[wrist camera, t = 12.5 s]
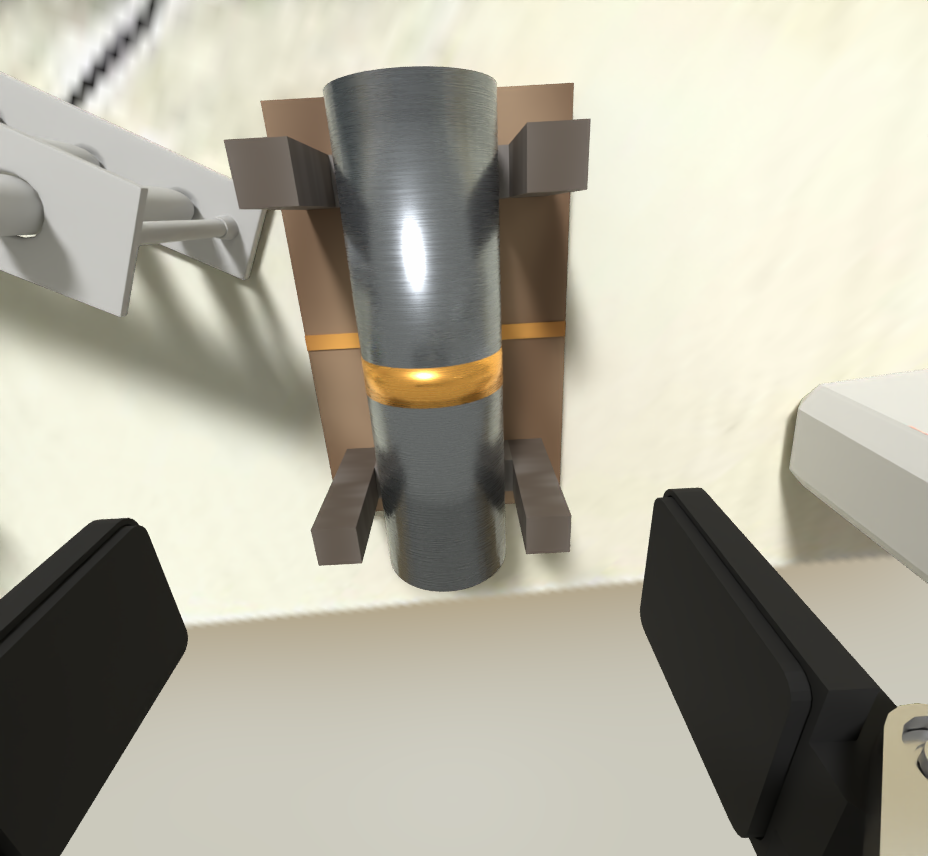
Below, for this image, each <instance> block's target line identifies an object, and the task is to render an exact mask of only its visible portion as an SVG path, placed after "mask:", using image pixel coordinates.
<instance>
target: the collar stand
mask: <svg viewBox="0 0 928 856" xmlns="http://www.w3.org/2000/svg"><path fill="white" fill-rule="evenodd" d="M573 90H574V83H562V84H545V85H527V86H510V87H497V126H498V176H499V227H500V277H501V328H502V355H503V429H504V479H505V504H512V503H516V508H517V513H518V518H519V522H520V527H521V532H522V536H523V541H524V546H525V550H526V554H538V553H556V552H570V533H571V513H570V511H569V508H568V506H567V503H566V501H565V498H564V495H563V493H562V490H561V488H560V460H561V432H562V403H563V375H564V346H565V330H566V321H565V318H566V289H567V261H568V232H569V204H570V192H574V191H580V190H587V181H588V161H589V140H590V119H577V120H572V118H573ZM261 106H262V111H263V117H264V122H265V127H266V132H267V137H264V138H247V139H230V140H224V143H225V148H226V152H227V157H228V161H229V166H230V170H231V174H232V179H233V183H234V188H235V192H236V197H237V201H238V206H239V209H261V210H281V211H282V216H283V222H284V227H285V232H286V237H287V243H288V248H289V253H290V258H291V264H292V269H293V274H294V279H295V285H296V290H297V295H298V300H299V306H300V311H301V316H302V321H303V327H304V332H305V340H306V346H307V351H308V353H309V358H310V363H311V369H312V374H313V379H314V384H315V390H316V395H317V400H318V405H319V411H320V416H321V421H322V426H323V432H324V437H325V442H326V447H327V453H328V458H329V463H330V468H331V474H332V479H333V482H332V484H331V486H330V488H329V490H328V493H327V495H326V497H325V499H324V502H323V504H322V506H321V508H320V511H319V513H318V515H317V517H316V520H315V522H314V524H313V526H312V529H311V533H312V537H313V542H314V546H315V551H316V555H317V560H318V564H319V566H321V565H339V564H357V563H362V561H363V557H364V554H365V550H366V546H367V542H368V538H369V534H370V530H371V526H372V523H373V519H374V515H375V511H384V510H383V503H382V496H381V489H380V482H379V475H378V468H377V461H376V455H375V448H374V441H373V434H372V427H371V420H370V413H369V406H368V399H367V393H366V389H365V382H364V375H363V368H362V361H361V351H360V344H359V337H358V330H357V323H356V316H355V309H354V302H353V295H352V288H351V281H350V274H349V267H348V260H347V253H346V247H345V240H344V233H343V226H342V219H341V212H340V205H339V198H338V191H337V184H336V177H335V170H334V163H333V156H332V149H331V143H330V136H329V129H328V122H327V115H326V108H325V101H324V97H319V98H302V99H285V100H267V101H261Z"/></svg>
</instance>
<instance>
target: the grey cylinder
mask: <svg viewBox="0 0 928 856" xmlns="http://www.w3.org/2000/svg"><path fill="white" fill-rule="evenodd" d="M323 94H324V101H325V108H326V115H327V122H328V129H329V136H330V143H331V149H332V156H333V163H334V170H335V177H336V184H337V191H338V198H339V205H340V212H341V219H342V226H343V233H344V240H345V247H346V253H347V260H348V267H349V274H350V281H351V288H352V295H353V302H354V309H355V316H356V323H357V330H358V337H359V344H360V351H361V361H362V368H363V375H364V382H365V389H366V393H367V399H368V406H369V413H370V420H371V427H372V434H373V441H374V448H375V455H376V461H377V468H378V475H379V482H380V489H381V496H382V503H383V510H384V517H385V524H386V531H387V538H388V545H389V552H390V559H391V564H392V567H393V569H394V571H395V572H396V574H397V575H398V576H399V577H400V578H401V579H402V580H404V581H405V582H407V583H408V584H410V585H413V586H415V587H417V588H421V589H424V590H429V591H439V592H446V591H457V590H462V589H466V588H469V587H472V586H475V585H477V584H480V583H481V582H483V581H485V580H487V579H488V578H490V577H491V576H492V575H493V574H494V573H496V572H497V570H498V569H499V568H500V567H501V565H502V563H503V561H504V559H505V555H506V530H505V479H504V429H503V355H502V328H501V277H500V227H499V176H498V126H497V83H496V81H495V80H494V79H493V78H492V77H490V76H488V75H486V74H483V73H480V72H476V71H472V70H466V69H459V68H449V67H430V66H423V67H397V68H386V69H377V70H371V71H364V72H360V73H355V74H351V75H347V76H344V77H341V78H338V79H336V80H333V81H331V82H330V83H328V84H327V85H326V86H325V87H324V89H323Z"/></svg>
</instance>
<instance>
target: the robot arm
mask: <svg viewBox="0 0 928 856" xmlns="http://www.w3.org/2000/svg"><path fill="white" fill-rule="evenodd" d="M640 617H641V622H642V625H643V629H644V631H645V634H646V636H647V638H648V640H649V642H650V644H651V646H652V649H653V651H654V654H655V656H656V658H657V660H658V662H659V664H660V667H661V669H662V671H663V673H664V676H665V678H666V680H667V682H668V685H669V687H670V689H671V691H672V694H673V696H674V698H675V700H676V703H677V705H678V706H679V709H680V711H681V714H682V716H683V718H684V720H685V722H686V725H687V727H688V729H689V731H690V733H691V736H692V738H693V740H694V742H695V744H696V747H697V749H698V751H699V754H700V756H701V758H702V760H703V763H704V765H705V767H706V769H707V771H708V774H709V776H710V778H711V780H712V783H713V785H714V787H715V789H716V791H717V793H718V796H719V798H720V800H721V803H722V805H723V807H724V809H725V811H726V813H727V816H728V818H729V820H730V822H731V824H732V826H733V828H734V830H735V831H736V832H737V834H738V835H739V836H740V837H742V838H749V839H750V841H751V843H752V846H753V848H754V850H755V852H756V854H757V856H928V705H927V704H920V703H914V704H907V705H900V706H899V707H897V706H896V705H895V704H894V703H893V702H892V701H891V700H890V698H889V697H888V696H887V695H886V694H885V693H884V692H883V691H882V689H881V688H880V687H879V686H878V685H877V684H876V683H875V682H874V680H873V679H872V678H871V677H870V676H869V675H868V674H867V672H866V671H865V670H864V669H863V668H862V667H861V666H860V665H859V663H858V662H857V661H856V660H855V659H854V658H853V657H852V656H851V654H849V652H848V651H847V650H846V649H845V648H844V647H843V646H842V644H841V643H840V642H839V641H838V640H837V639H836V638H835V636H834V635H833V634H832V633H831V632H830V631H829V630H828V629H827V627H826V626H825V625H824V624H823V623H822V622H821V621H820V620H819V619H818V617H817V616H816V615H815V614H814V613H813V612H812V611H811V610H810V608H809V607H808V606H807V605H806V604H805V603H804V602H803V601H802V599H801V598H800V597H799V596H798V595H797V594H796V593H795V592H794V590H793V589H792V588H791V587H790V586H789V585H788V584H787V583H786V581H785V580H784V579H783V578H782V577H781V576H780V575H779V574H778V572H777V571H776V570H775V569H774V568H773V567H772V566H771V565H770V564H769V562H768V561H767V560H766V559H765V558H764V557H763V556H762V555H761V553H760V552H759V551H758V550H757V549H756V548H755V547H754V546H753V544H752V543H751V542H750V541H749V540H748V539H747V538H746V537H745V535H744V534H743V533H742V532H741V531H740V530H739V529H738V528H737V526H736V525H735V524H734V523H733V522H732V521H731V520H730V519H729V517H728V516H727V515H726V514H725V513H724V512H723V511H722V510H721V508H720V507H719V506H718V505H717V504H716V503H715V502H714V501H713V499H712V498H711V497H710V496H709V495H708V494H707V493H706V492H705V491H704V490H703V489H702V488H682V489H668V490H667V491H666V492H665V493H664V496H663V498H657V499H656V500H655V502H654V507H653V515H652V523H651V530H650V538H649V545H648V553H647V560H646V568H645V575H644V583H643V590H642V598H641V606H640ZM187 641H188V635H187V630H186V628H185V625H184V623H183V620H182V618H181V615H180V613H179V610H178V608H177V605H176V602H175V600H174V597H173V595H172V592H171V590H170V587H169V585H168V582H167V580H166V577H165V575H164V572H163V570H162V567H161V565H160V562H159V560H158V557H157V555H156V552H155V549H154V547H153V544H152V542H151V539H150V537H149V534H148V532H147V530H146V529H145V528H144V527H143V526H139V525H138V523H137V522H136V521H135V520H133V519H130V518H120V519H101V520H95V521H93V522H91V523H89V524H88V525H87V526H85V527H84V528H83V529H82V530H81V531H80V532H78V533H77V534H76V535H75V536H74V537H73V538H71V539H70V540H69V541H68V542H67V543H66V544H64V545H63V546H62V547H61V548H60V549H59V550H57V551H56V552H55V553H54V554H53V555H52V556H50V557H49V558H48V559H47V560H46V561H45V562H43V563H42V564H41V565H40V566H39V567H38V568H36V569H35V570H34V571H33V572H32V573H31V574H29V575H28V576H27V577H26V578H25V579H24V580H22V581H21V582H20V583H19V584H18V585H17V586H15V587H14V588H13V589H12V590H11V591H10V592H8V593H7V594H6V595H5V596H4V597H3V598H1V599H0V856H60V855H61V854H62V852H63V850H64V848H65V847H66V845H67V844H68V842H69V840H70V838H71V837H72V835H73V834H74V832H75V831H76V829H77V827H78V826H79V824H80V822H81V821H82V819H83V818H84V816H85V814H86V813H87V811H88V809H89V808H90V806H91V805H92V803H93V801H94V800H95V798H96V796H97V795H98V793H99V791H100V790H101V788H102V786H103V785H104V783H105V782H106V780H107V778H108V777H109V775H110V773H111V772H112V770H113V769H114V767H115V765H116V764H117V762H118V760H119V759H120V757H121V755H122V754H123V752H124V750H125V749H126V747H127V746H128V744H129V742H130V741H131V739H132V738H133V736H134V734H135V732H136V731H137V729H138V728H139V726H140V724H141V723H142V721H143V719H144V718H145V716H146V715H147V713H148V711H149V710H150V708H151V706H152V705H153V703H154V701H155V700H156V698H157V697H158V695H159V693H160V692H161V690H162V688H163V687H164V685H165V684H166V682H167V680H168V679H169V677H170V675H171V674H172V672H173V670H174V669H175V667H176V665H177V664H178V662H179V661H180V659H181V657H182V656H183V654H184V652H185V650H186V647H187Z"/></svg>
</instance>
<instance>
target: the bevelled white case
mask: <svg viewBox="0 0 928 856" xmlns="http://www.w3.org/2000/svg"><path fill="white" fill-rule="evenodd" d="M789 470H790V471H791V472H792V473H793V474H794V476H795V477H796V478H797V479H798V480H799V482H800V483H801V484H802V485H803V486H804V487H805V488H807V489H808V490H809V491H810V492H812V493H813V494H814V495H815V496H817V497H818V498H819V499H821V500H822V501H823V502H824V503H826V504H827V505H828V506H829V507H831V508H832V509H833V510H835V511H836V512H837V513H838V514H840V515H841V516H842V517H844V518H845V519H846V520H847V521H849V522H850V523H851V524H852V525H854V526H855V527H856V528H858V529H859V530H860V531H861V532H863V533H864V534H865V535H866V536H868V537H869V538H870V539H872V540H873V541H874V542H875V543H877V544H878V545H879V546H880V547H882V548H883V549H884V550H886V551H887V552H888V553H889V554H891V555H892V556H893V557H895V558H896V559H897V560H898V561H900V562H901V563H902V564H903V565H905V566H906V567H907V568H909V569H910V570H911V571H912V572H914V573H915V574H916V575H918V576H919V577H920V578H921V579H923V580H924V581H925V582H927V583H928V368H927V369H921V370H914V371H907V372H900V373H893V374H886V375H879V376H872V377H865V378H859V379H852V380H845V381H838V382H831V383H824V384H819V385H818V386H817V387H816V388H814V389H813V390H812V391H811V392H810V393H808V394H807V395H806V396H805V397H804V398H803V399H802V401H801V403H800V405H799V408H798V413H797V420H796V426H795V433H794V440H793V446H792V453H791V460H790V467H789Z"/></svg>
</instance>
